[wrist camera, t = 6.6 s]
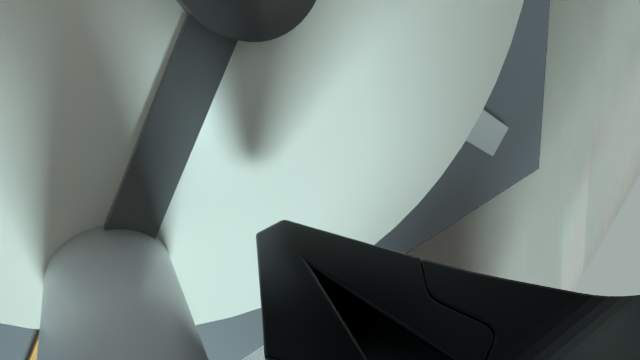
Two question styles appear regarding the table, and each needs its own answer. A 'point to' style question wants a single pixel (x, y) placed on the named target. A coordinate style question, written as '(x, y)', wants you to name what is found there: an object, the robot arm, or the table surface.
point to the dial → (214, 148)
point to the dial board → (443, 198)
